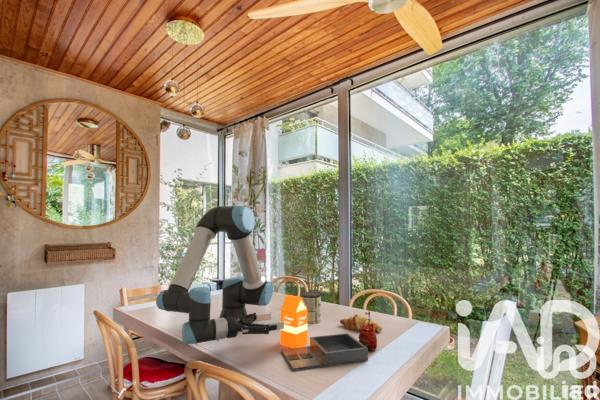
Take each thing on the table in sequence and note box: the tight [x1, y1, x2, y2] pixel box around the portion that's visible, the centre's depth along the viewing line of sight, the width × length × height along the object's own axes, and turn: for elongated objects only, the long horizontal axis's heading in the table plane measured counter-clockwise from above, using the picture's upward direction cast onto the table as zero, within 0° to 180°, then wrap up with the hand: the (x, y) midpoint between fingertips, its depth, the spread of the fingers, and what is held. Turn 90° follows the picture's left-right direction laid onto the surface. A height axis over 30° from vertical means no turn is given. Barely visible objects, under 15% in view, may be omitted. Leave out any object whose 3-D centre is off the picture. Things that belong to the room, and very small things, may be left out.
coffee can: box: [301, 291, 322, 325], centre depth 163 cm, size 10×10×14 cm
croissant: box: [339, 314, 383, 333], centre depth 150 cm, size 21×10×8 cm
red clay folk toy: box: [358, 310, 378, 352], centre depth 126 cm, size 8×7×15 cm
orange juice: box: [279, 294, 309, 349], centre depth 131 cm, size 8×9×20 cm
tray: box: [281, 332, 369, 372], centre depth 118 cm, size 29×17×4 cm, turn 107°
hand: (277, 320), depth 127 cm, fingers open, 13 cm apart
